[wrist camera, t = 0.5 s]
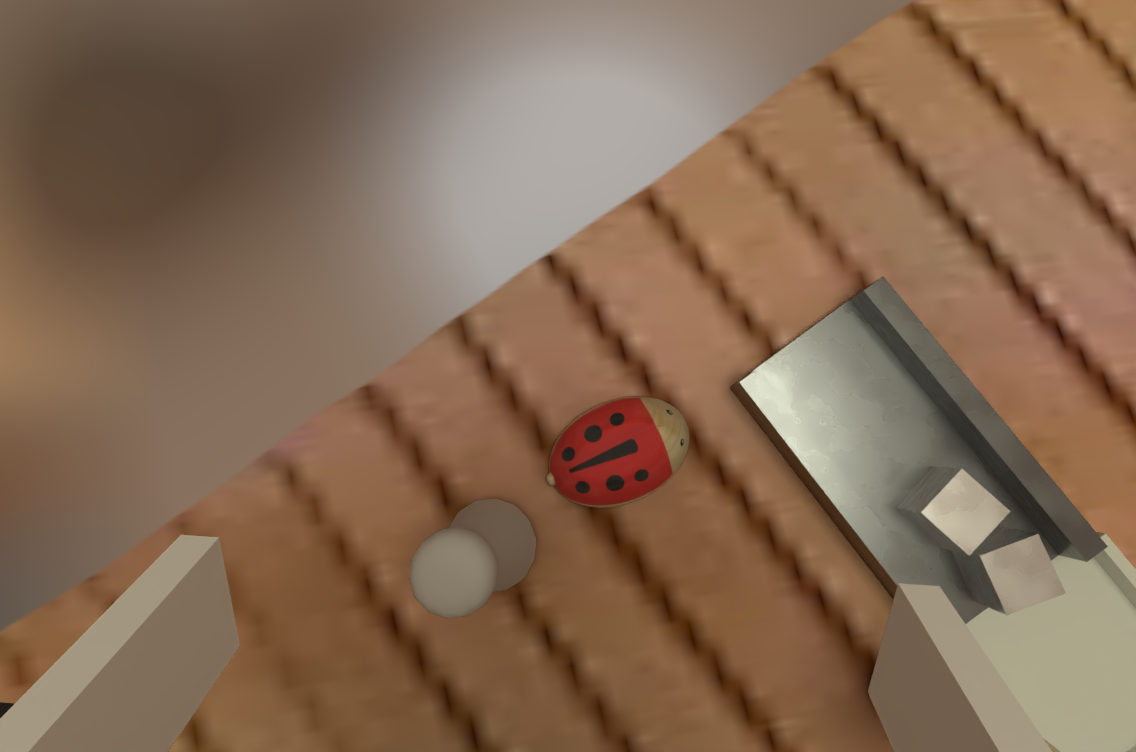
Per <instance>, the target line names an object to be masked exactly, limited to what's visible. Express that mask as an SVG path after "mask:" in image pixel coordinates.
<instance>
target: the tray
mask: <svg viewBox="0 0 1136 752" xmlns="http://www.w3.org/2000/svg"><path fill="white" fill-rule="evenodd" d="M1096 533H1097V534H1098V535H1099V536H1100V538H1101V539H1102V540H1103V541H1104V542H1105V544H1106V545H1107V546H1108V547H1107V548H1106V549H1104V550H1103V551H1101V552H1100V553H1099V554H1097V555H1096V556H1095V557H1093V558H1092V559H1091V560H1089V561H1088V562H1085V561H1081V560H1076V559H1072V558H1068V557H1064V556H1060V555H1058V556H1057V557H1056V558H1054V559H1053V560H1052V561H1051V562H1052V564H1053V566H1054V568H1055V571H1056V573H1057V575H1058V577H1059V579H1060V581H1061V583H1062V586H1063V588H1064V590H1065V592H1066V594H1063V595H1060V596H1058V597H1055V598H1052V599H1050V600H1047V601H1044V602H1042V603H1039V604H1036V605H1034V606H1031V607H1028V608H1026V609H1023V610H1020V611H1018V612H1015V613H1012V614H1010V615H1005V614H1002V613H1000V612H998V611H995V610H993V609H991V608H987V609H986V610H984V611H983V612H981V613H980V614H979V615H977V616H976V617H975V618H973V619H972V620H971V621H969V622H968V623H967V624H966V626H967V627H968V629H969V630H970V632H971V633H972V635H973V636H974V637H975V639H976V640H977V642H978V643H979V645H980V646H981V648H982V649H983V651H984V652H985V654H986V655H987V657H988V658H989V660H990V661H991V662H992V664H993V665H994V667H995V668H996V670H997V671H998V673H999V674H1000V676H1001V677H1002V679H1003V680H1004V682H1005V683H1006V684H1007V686H1008V687H1009V689H1010V690H1011V692H1012V693H1013V695H1014V696H1015V698H1016V699H1017V701H1018V702H1019V704H1020V705H1021V706H1022V708H1023V709H1024V711H1025V712H1026V714H1027V715H1028V717H1029V718H1030V720H1031V721H1032V723H1033V724H1034V726H1035V727H1036V728H1037V730H1038V731H1039V733H1040V734H1041V736H1042V737H1043V739H1045V740H1046V741H1048V742H1049V743H1050V744H1051V745H1053V746H1054V747H1055V748H1056V749H1058V750H1059V751H1060V752H1136V569H1135V568H1134V567H1133V566H1132V565H1131V563H1130V562H1129V561H1128V560H1127V559H1126V557H1125V556H1124V555H1123V554H1122V553H1121V551H1120V550H1119V549H1118V548H1117V547H1116V545H1115V544H1114V543H1113V542H1112V541H1111V539H1110V538H1109V537H1108V536H1107V535H1106V534H1105V533H1100V532H1096Z"/></svg>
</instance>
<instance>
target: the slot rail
mask: <svg viewBox="0 0 1136 752" xmlns="http://www.w3.org/2000/svg"><path fill="white" fill-rule="evenodd" d="M730 388H731V390H732V391H733V392H734V394H735V395H736V396H737V397H738V399H739V400H740V401H741V403H742V404H743V405H744V406H745V408H746V409H747V410H748V412H749V413H750V414H751V416H752V417H753V418H754V419H755V421H756V422H757V423H758V425H759V426H760V427H761V428H762V430H763V431H764V432H765V434H766V435H767V436H768V438H769V439H770V440H771V441H772V443H773V444H774V445H775V447H776V448H777V449H778V450H779V452H780V453H781V454H782V456H783V457H784V458H785V460H786V461H787V462H788V463H789V465H790V466H791V467H792V469H793V470H794V471H795V472H796V474H797V475H798V476H799V478H800V479H801V480H802V482H803V483H804V484H805V485H806V487H807V488H808V489H809V491H810V492H811V493H812V494H813V496H814V497H815V498H816V500H817V501H818V502H819V503H820V505H821V506H822V507H823V509H824V510H825V511H826V513H827V514H828V515H829V516H830V518H831V519H832V520H833V522H834V523H835V524H836V525H837V527H838V528H839V529H840V531H841V532H842V533H843V535H844V536H845V537H846V538H847V540H848V541H849V542H850V544H851V545H852V546H853V547H854V549H855V550H856V551H857V553H858V554H859V555H860V557H861V558H862V559H863V560H864V562H865V563H866V564H867V566H868V567H869V568H870V569H871V571H872V572H873V573H874V575H875V576H876V577H877V579H878V580H879V581H880V582H881V584H882V585H883V586H884V588H885V589H886V590H887V591H888V593H889V594H890V595H891V597H892V598H893V599H894V596H895V593H896V589H897V586H898V583H901V584H916V585H931V586H940V588H941V589H942V591H943V592H944V593H945V595H946V596H947V598H948V599H949V601H950V602H951V604H952V605H953V607H954V608H955V610H956V611H957V613H958V614H959V615H960V617H961V618H962V620H963V621H964V623H965V624H967V623H968V622H969V621H971V620H972V619H973V618H975V617H976V616H977V615H979V614H980V613H981V612H983V611H984V610H986V609H987V608H988V607H986V606H984V605H981V604H979V603H977V602H974V600H973V598H972V596H971V593H970V591H969V589H968V587H967V584H966V582H965V580H964V578H963V576H962V573H961V571H960V569H959V567H958V564H957V562H956V560H955V558H954V556H953V553H952V551H951V550H948V549H945V548H941V547H939V546H938V545H937V544H936V543H935V542H934V541H933V540H931V539H930V538H929V537H928V536H927V535H926V534H925V533H924V532H923V531H922V530H920V529H919V528H918V527H917V526H916V525H915V524H914V523H913V522H912V521H911V520H909V519H908V518H907V517H906V516H905V515H904V514H903V513H902V512H901V511H900V510H898V509H897V508H896V507H897V505H898V504H899V503H900V502H901V501H902V500H903V499H904V498H905V497H906V496H907V495H908V494H909V493H910V492H911V490H912V489H913V488H914V487H915V486H916V485H917V484H918V483H919V482H920V481H921V480H922V479H923V478H924V477H925V475H926V474H927V473H928V472H929V471H930V470H931V469H932V468H933V467H946V468H962V469H963V470H964V471H965V472H967V473H968V474H969V475H970V476H971V477H972V478H973V479H974V480H976V481H977V482H978V483H979V484H980V485H981V486H982V487H984V488H985V489H986V490H987V491H988V492H989V493H990V494H991V495H993V496H994V497H995V498H996V499H997V500H998V501H999V502H1000V503H1002V504H1003V505H1004V506H1005V507H1006V508H1007V509H1008V510H1010V513H1009V514H1008V515H1007V516H1006V517H1005V518H1004V519H1003V520H1002V521H1001V522H1000V523H999V524H998V525H997V527H996V528H995V529H998V528H1001V527H1007V528H1012V529H1017V530H1022V531H1027V532H1032V533H1037V534H1039V536H1040V539H1041V541H1042V543H1043V545H1044V547H1045V549H1046V551H1047V554H1048V556H1049V558H1050V560H1051V561H1052V560H1053V559H1054V558H1056V557H1057V556H1058V555H1060V556H1064V557H1068V558H1072V559H1076V560H1081V561H1085V562H1088V561H1089V560H1091V559H1092V558H1093V557H1095V556H1096V555H1097V554H1099V553H1100V552H1101V551H1103V550H1104V549H1106V548H1107V547H1108V546H1107V545H1106V544H1105V542H1104V541H1103V540H1102V539H1101V538H1100V536H1099V535H1098V534H1097V533H1096V532H1095V530H1094V529H1093V528H1092V527H1091V526H1090V524H1089V523H1088V522H1087V521H1086V520H1085V518H1084V517H1083V516H1082V515H1081V514H1080V512H1079V511H1078V510H1077V509H1076V508H1075V506H1074V505H1073V504H1072V503H1071V502H1070V500H1069V499H1068V498H1067V497H1066V496H1065V494H1064V493H1063V492H1062V491H1061V490H1060V488H1059V487H1058V486H1057V485H1056V484H1055V482H1054V481H1053V480H1052V479H1051V478H1050V476H1049V475H1048V474H1047V473H1046V472H1045V470H1044V469H1043V468H1042V467H1041V466H1040V464H1039V463H1038V462H1037V461H1036V459H1035V458H1034V457H1033V456H1032V455H1031V453H1030V452H1029V451H1028V450H1027V449H1026V447H1025V446H1024V445H1023V444H1022V443H1021V441H1020V440H1019V439H1018V438H1017V437H1016V435H1015V434H1014V433H1013V432H1012V431H1011V429H1010V428H1009V427H1008V426H1007V425H1006V423H1005V422H1004V421H1003V420H1002V419H1001V417H1000V416H999V415H998V414H997V413H996V411H995V410H994V409H993V408H992V407H991V405H990V404H989V403H988V402H987V401H986V399H985V398H984V397H983V396H982V395H981V393H980V392H979V391H978V390H977V389H976V387H975V386H974V385H973V384H972V383H971V381H970V380H969V379H968V378H967V377H966V375H965V374H964V373H963V372H962V371H961V369H960V368H959V367H958V366H957V365H956V363H955V362H954V361H953V360H952V359H951V357H950V356H949V355H948V354H947V353H946V351H945V350H944V349H943V348H942V346H941V345H940V344H939V343H938V342H937V340H936V339H935V338H934V337H933V336H932V334H931V333H930V332H929V331H928V330H927V328H926V327H925V326H924V325H923V324H922V322H921V321H920V320H919V319H918V318H917V316H916V315H915V314H914V313H913V312H912V310H911V309H910V308H909V307H908V306H907V304H906V303H905V302H904V301H903V300H902V298H901V297H900V296H899V295H898V294H897V292H896V291H895V290H894V289H893V288H892V286H891V285H890V284H889V283H888V282H887V280H886V279H885V278H884V277H881V278H880V279H878V280H877V281H875V282H874V283H872V284H870V285H869V286H867V287H866V288H864V289H863V290H861V291H860V292H859V293H857V294H856V295H855V296H853V297H852V298H850V299H849V300H848V301H846V302H845V303H844V304H842V305H841V306H840V307H838V308H837V309H836V310H834V311H833V312H831V313H830V314H829V315H827V316H826V317H825V318H823V319H822V320H821V321H819V322H818V323H817V324H815V325H814V326H812V327H811V328H810V329H808V330H807V331H806V332H804V333H803V334H802V335H800V336H799V337H798V338H796V339H795V340H793V341H792V342H791V343H789V344H788V345H787V346H785V347H784V348H783V349H781V350H780V351H779V352H777V353H776V354H774V355H773V356H772V357H770V358H769V359H768V360H766V361H765V362H764V363H762V364H761V365H760V366H758V367H757V368H755V369H754V370H753V371H751V372H750V373H749V374H747V375H746V376H745V377H743V378H742V379H741V380H739V381H738V382H736V383H735V384H734V385H732V386H731V387H730ZM995 529H994V530H995Z"/></svg>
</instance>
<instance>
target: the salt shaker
mask: <svg viewBox="0 0 1136 752" xmlns="http://www.w3.org/2000/svg"><path fill="white" fill-rule="evenodd" d="M536 541H537V540H536V537H535V534H534V531H533V529H532V526H531V523H530V521H529V519H528V518H527V517H526V516H525V515H524V514H523V513H522V512H521V511H520V510H519V508H518V507H517V506H516V505H513V504H511V503H508V502H505V501H502V500H499V499H496V498H495V499H486V500H477V501H474V502H473V503H471V504H470V505H468V506H467V507H465V508H464V509H462V510H460V511H459V512H458V513H457V515H456V516H455V518H454V520H453V521H452V523H451V524H450V526H449V528H445V529H440V530H439V531H437V532H436V533H434V534H433V535H431V536H430V537H428V538H427V539H425V540H424V541H423V543H422V544H421V546H420V547H419V549H418V551H417V552H416V554H415V555H414V557H413V558H412V560H411V569H410V577H409V580H410V583H411V586H412V590H413V593H414V596H415V598H416V599H417V600H418V602H419V603H420V604H421V605H422V606H423V607H424V608H425V609H426V610H427V611H428V612H430V613H433V614H435V615H438V616H440V617H443V618H454V617H463V616H467V615H469V614H471V613H473V612H474V611H476V610H477V609H479V608H481V607H482V606H484V605H485V604H486V602H487V600H488V599H489V597H490V595H491V594H492V592H496V591H504V590H507V589H508V588H510V587H512V586H513V585H515V584H516V583H518V582H520V581H521V580H523V579H524V577H525V576H526V574H527V572H528V570H529V569H530V567H531V565H532V563H533V562H534V556H535V549H536Z"/></svg>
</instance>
